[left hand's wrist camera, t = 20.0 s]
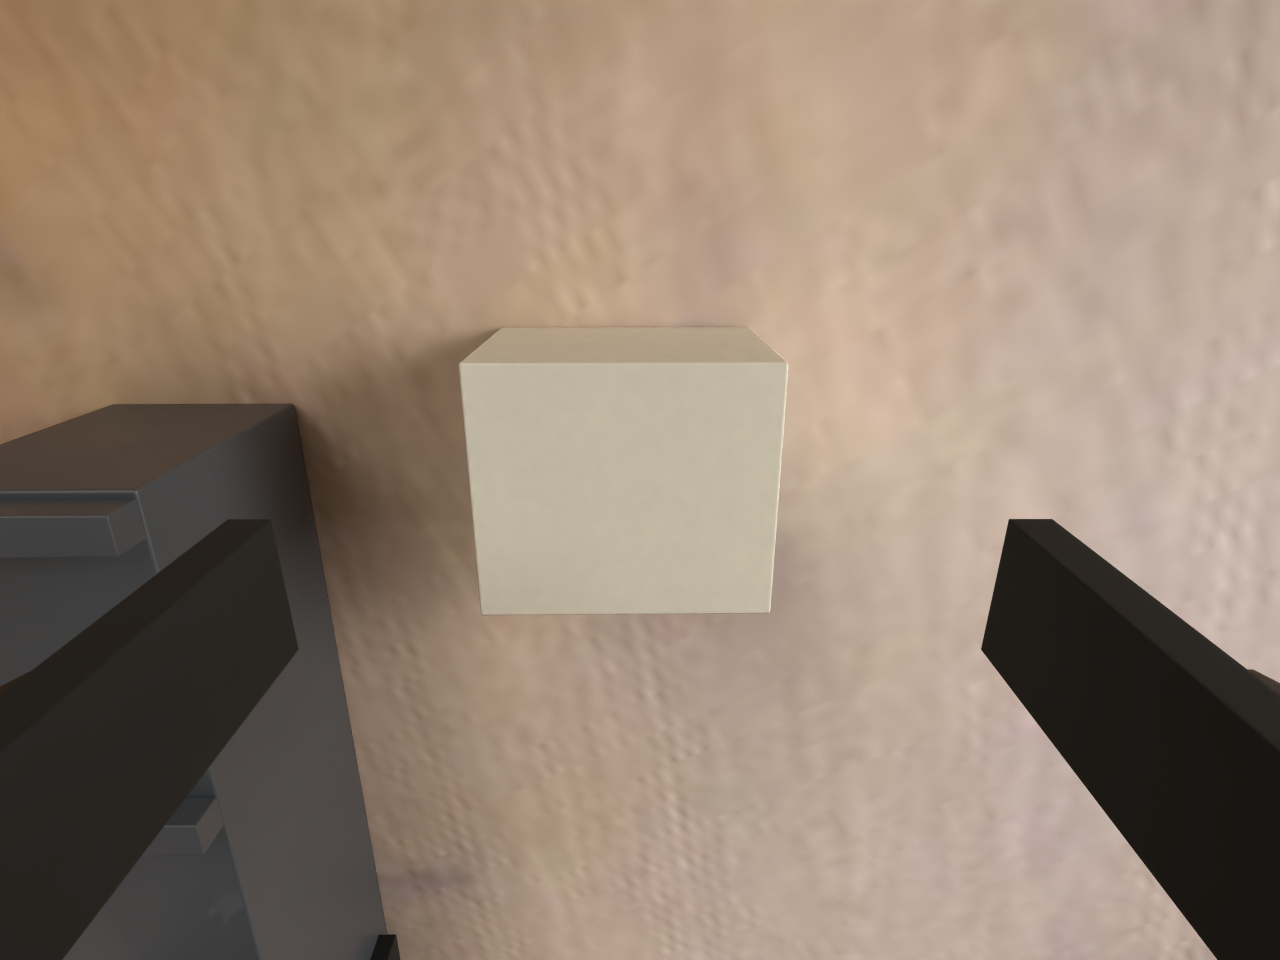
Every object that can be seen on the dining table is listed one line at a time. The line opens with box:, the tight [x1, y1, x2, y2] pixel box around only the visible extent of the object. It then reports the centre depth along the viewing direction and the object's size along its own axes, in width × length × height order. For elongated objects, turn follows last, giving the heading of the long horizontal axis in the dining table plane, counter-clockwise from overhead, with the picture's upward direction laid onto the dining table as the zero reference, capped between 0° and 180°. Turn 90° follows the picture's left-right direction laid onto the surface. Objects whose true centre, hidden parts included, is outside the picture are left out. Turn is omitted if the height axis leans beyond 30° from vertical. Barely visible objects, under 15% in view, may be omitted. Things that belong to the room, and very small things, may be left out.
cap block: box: [459, 327, 788, 615], centre depth 21 cm, size 7×8×6 cm
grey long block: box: [0, 404, 387, 960], centre depth 24 cm, size 30×6×9 cm, turn 0°
